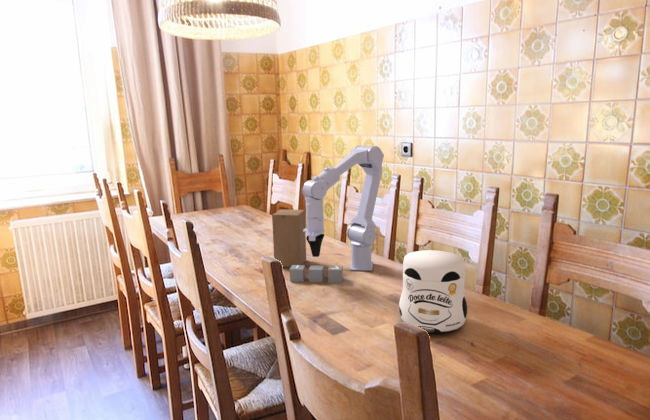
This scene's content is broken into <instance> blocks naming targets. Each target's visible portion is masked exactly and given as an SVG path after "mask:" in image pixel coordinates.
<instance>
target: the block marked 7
mask: <svg viewBox="0 0 650 420" xmlns="http://www.w3.org/2000/svg"><path fill="white" fill-rule="evenodd" d="M343 268H344V267H343V265H329V266H328V270H327V282H328V283H329V284H330V283H332V284H337V283H338V284H342V282H343V278H344V275H343V274H344V272H343V271H344V269H343Z"/></svg>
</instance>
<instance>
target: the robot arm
mask: <svg viewBox="0 0 650 420" xmlns="http://www.w3.org/2000/svg"><path fill="white" fill-rule="evenodd" d="M384 157H385V154H384V153H383V151H382V149H381V148H380V147H379V146H377V145H373V146H371V145H369V146H367V145H361V144H360V145H356V146H354V147H353V148H352V149H351V150H350V151H349V154H347V155H346V156H345V157H344V158H342V160H340V162H338V163H337V164H336V165H334V167H332V166H328V167H324V168H323V171H322V172H320V173H319V174H318V175H315V176H314V177H313V179H311V180H310V179H309V180H306V182H305V183H304V184H303V186H302V189H301V194H302V195H303V197H304V201H305V226H306V228H305V229H304V230H303V232H305V234H307V236H306V241H307V244H308V245H309V247H310V252H311V255H312V257H313V258H319V257H320V254H321V250H322V243H323V240H324V237H325V234H324V233H325V229H324V228H325V226H324V225H325V224H324V222H325V220H324V198H325V197H326V195H327V193H328V191H329V190H330V188H332V187H333V186H335V185H336V184H337V183H339V181H340V179H341V175H343V174H344V173H346V172H348V170H350V169H352V168H353V167H354V166H355V165H358V166H359V167H360V168H361V169H363V171H364V172H365V177H364V181H363V186H362V191H361V195H360V199H359V200H360V201H359V205H358V209H357V214H356V216H355V217H353V218H352V219H351V221H350V224H349V226H348V227H347V230H346V236H347V238H348V240H349V242H350V244H351V263H350V266H349V267H350V268H349V270H350V271H367V272H368V271H373V264H374V262H373V261H372V246H373V244H374V242H375V241H376V238H377V237H376V236H377V233H376V228H377V225H376V224H375V222H374V221H373V215H374V210H375V205H376V201H377V197H378V194H379V193H378V192H379V188H380V184H381V179H382V174H383V161H384Z"/></svg>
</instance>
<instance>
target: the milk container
mask: <svg viewBox="0 0 650 420" xmlns="http://www.w3.org/2000/svg"><path fill="white" fill-rule="evenodd" d="M403 257H404V258H403V263H402V270H403V271H402V291H401V295H400V297H399V301H398V302H399V303H398V309H399V316H400V317H401V320H402V321H403V323H404V322H406V323H409V324H412V325H415V326H418V327H420V328H422V329H424V330H426V331H427V332H428V333H429V334H446V333H451V332H454V331H457V330H458V329H460V328H462V327H463V326H464V324H465V322H466V321H467V320H466V319H467V315H468V303H467V300H466V295H465V282H466V275H465V274H466V263H465V260H464V258H463V256H461V255H459V254H457V253H453V252H449V251H444V250H434V249H433V250H432V249H428V250H427V249H425V250H424V249H423V250H418V251H411V252H409V253H406V255H404V256H403ZM427 332H426V333H427Z"/></svg>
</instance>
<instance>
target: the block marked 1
mask: <svg viewBox="0 0 650 420" xmlns="http://www.w3.org/2000/svg"><path fill="white" fill-rule="evenodd" d="M305 279H306V265H305V264H303V265H292V266H291V268H290V267H289V281H294V282H293V283H297V282H298V283H303V282H304V281H305Z"/></svg>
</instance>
